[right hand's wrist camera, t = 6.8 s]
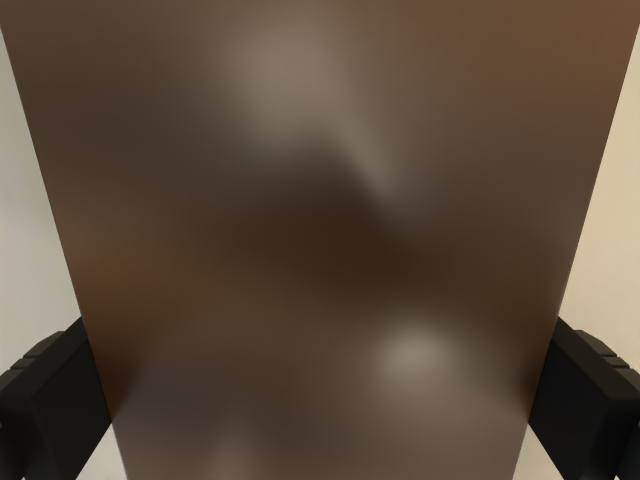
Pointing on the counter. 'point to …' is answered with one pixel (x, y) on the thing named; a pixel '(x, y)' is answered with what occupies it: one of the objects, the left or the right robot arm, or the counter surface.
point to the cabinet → (319, 219)
